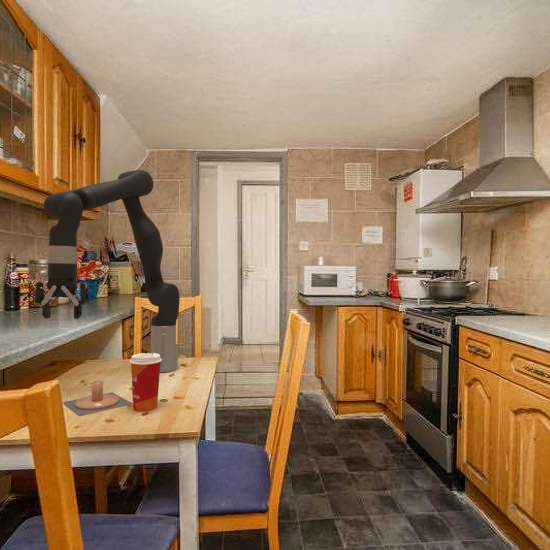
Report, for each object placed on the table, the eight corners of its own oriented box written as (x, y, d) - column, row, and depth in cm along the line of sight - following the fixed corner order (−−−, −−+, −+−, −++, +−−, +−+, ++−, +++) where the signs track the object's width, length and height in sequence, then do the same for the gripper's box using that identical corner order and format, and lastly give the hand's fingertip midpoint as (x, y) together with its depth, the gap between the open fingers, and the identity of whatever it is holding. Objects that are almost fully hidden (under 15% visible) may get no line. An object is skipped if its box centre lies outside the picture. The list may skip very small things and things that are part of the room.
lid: (109, 394, 116) (109, 374, 116) (125, 403, 108) (125, 382, 108) (69, 402, 108) (69, 381, 108) (83, 413, 100) (83, 390, 100)
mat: (112, 395, 118) (112, 392, 118) (133, 407, 108) (133, 403, 108) (61, 406, 108) (61, 402, 108) (79, 420, 98) (79, 416, 98)
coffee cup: (133, 406, 109) (134, 352, 109) (163, 405, 110) (164, 352, 110) (124, 417, 101) (125, 358, 101) (157, 416, 101) (158, 358, 101)
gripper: (93, 263, 117) (92, 317, 117) (45, 262, 116) (44, 316, 116) (81, 262, 109) (80, 320, 109) (29, 261, 109) (29, 319, 109)
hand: (62, 318), depth 113 cm, fingers open, 8 cm apart
